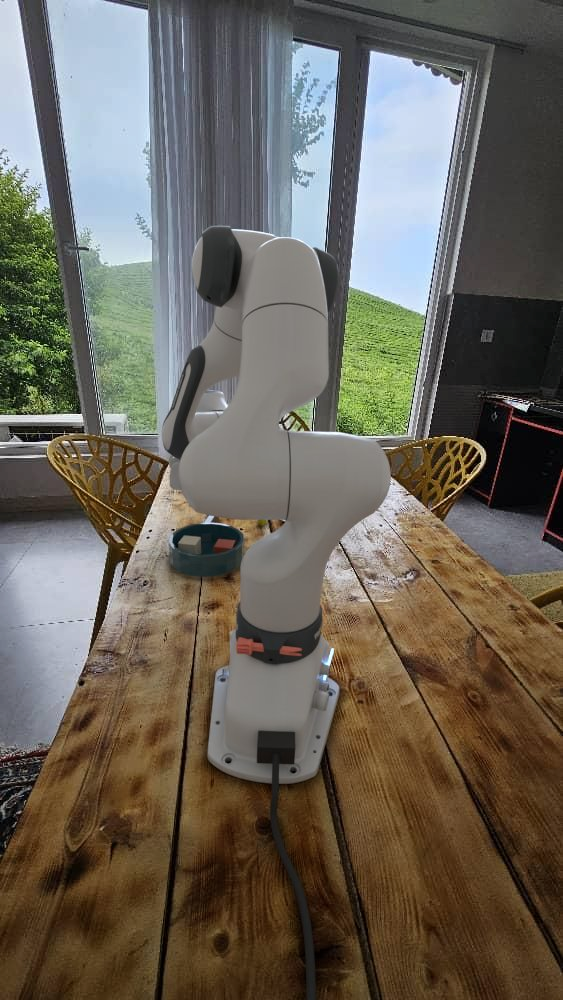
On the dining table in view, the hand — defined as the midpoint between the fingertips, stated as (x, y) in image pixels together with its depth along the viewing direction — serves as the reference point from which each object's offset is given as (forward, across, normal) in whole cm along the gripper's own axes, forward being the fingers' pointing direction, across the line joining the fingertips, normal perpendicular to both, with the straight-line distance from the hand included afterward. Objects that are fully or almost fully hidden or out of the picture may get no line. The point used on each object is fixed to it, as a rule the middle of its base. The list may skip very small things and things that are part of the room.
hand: (210, 507), depth 115 cm
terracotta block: (+5, +8, -16) cm, 19 cm away
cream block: (+5, 0, -16) cm, 17 cm away
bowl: (+6, +4, -16) cm, 18 cm away
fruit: (+6, +13, +6) cm, 15 cm away
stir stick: (+6, 0, 0) cm, 6 cm away
